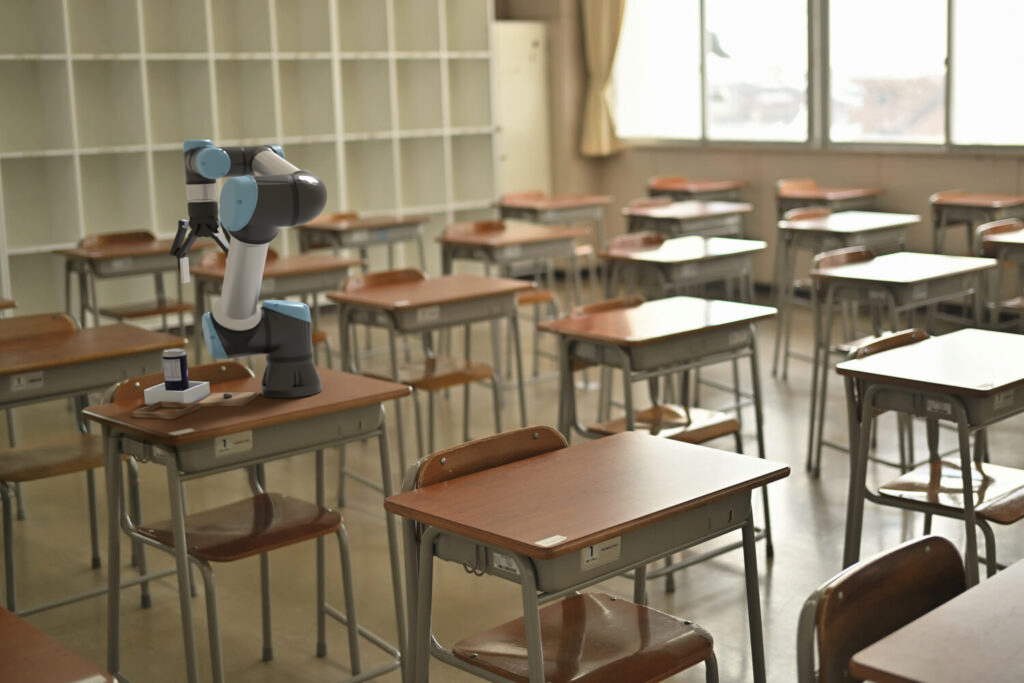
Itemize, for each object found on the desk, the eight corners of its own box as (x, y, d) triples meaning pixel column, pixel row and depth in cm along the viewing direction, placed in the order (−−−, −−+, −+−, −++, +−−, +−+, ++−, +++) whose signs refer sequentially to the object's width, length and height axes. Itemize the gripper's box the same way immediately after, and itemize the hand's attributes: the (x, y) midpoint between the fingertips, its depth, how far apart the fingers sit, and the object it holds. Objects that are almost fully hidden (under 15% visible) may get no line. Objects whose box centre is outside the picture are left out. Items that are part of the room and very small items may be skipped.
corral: (200, 408, 284) (200, 403, 284) (173, 419, 274) (172, 414, 274) (160, 405, 288) (160, 401, 288) (132, 416, 277) (131, 411, 277)
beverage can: (193, 397, 293) (189, 350, 291) (170, 401, 290) (166, 353, 287) (185, 394, 297) (181, 347, 295) (162, 397, 294) (158, 350, 292)
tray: (210, 396, 297) (209, 382, 296) (184, 406, 287) (183, 391, 286) (172, 394, 301) (170, 380, 300) (145, 404, 290) (143, 389, 290)
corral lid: (256, 395, 296) (256, 388, 296) (243, 405, 285) (243, 398, 285) (212, 395, 297) (212, 388, 297) (198, 406, 286) (197, 399, 286)
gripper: (252, 199, 303) (258, 281, 306) (169, 200, 310) (175, 280, 314) (237, 201, 296) (243, 285, 299) (151, 202, 303) (158, 284, 307)
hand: (208, 283), depth 307 cm, fingers open, 13 cm apart
